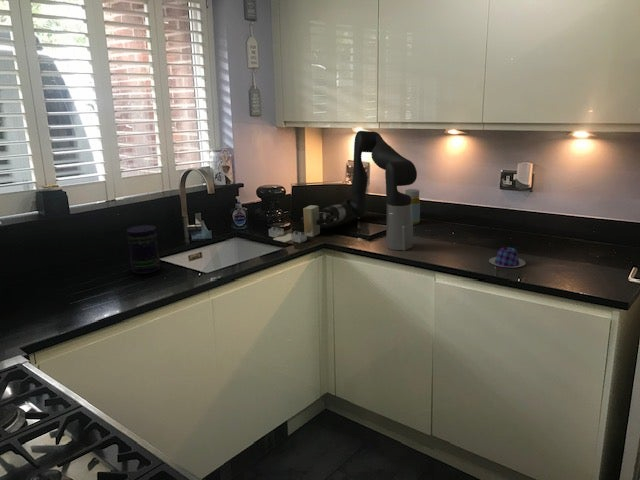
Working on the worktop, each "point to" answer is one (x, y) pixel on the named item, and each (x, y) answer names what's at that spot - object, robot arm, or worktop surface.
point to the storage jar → (143, 248)
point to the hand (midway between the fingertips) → (309, 221)
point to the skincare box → (311, 220)
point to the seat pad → (284, 238)
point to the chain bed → (295, 235)
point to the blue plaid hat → (507, 258)
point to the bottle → (414, 205)
